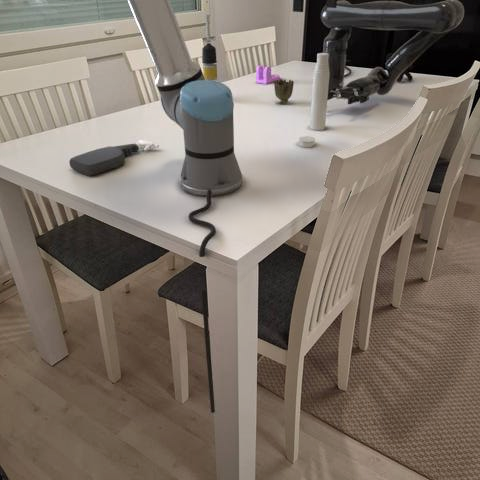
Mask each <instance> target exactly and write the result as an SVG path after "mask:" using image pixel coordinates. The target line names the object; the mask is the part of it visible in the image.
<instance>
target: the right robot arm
mask: <svg viewBox="0 0 480 480" xmlns="http://www.w3.org/2000/svg"><path fill="white" fill-rule="evenodd" d="M464 17H465V7H464V5H463V3H462V2H461V1H459V0H442V1H439V2H435V3H434V2H433V3H429V4H409V3H406V2H402V1H397V0H378V1H377V0H375V1H368V2H362V3H357V4H356V3H355V4H352V3H351V2H349V1H348V0H337V5H336V8H327V7H326V5H324V7H323V8H322V10H321V12H320V20H321V22H322V23H323V25H324V26H325V27H327V28H328V29H330V31H329V34H328V35H327V36H325V38H324V39H323V50H322V53H328V54H329V57H328V63H329V71H330V72H329V74H330V75H329V86H328V98H327V101H329V100H331V99H336V100H347V105H352V104H357V103H360V104H365V103H366V102H368V101H370V98H371V97H370V96H373V95H375V94H377V95H378V96H385V95H387V94H388V93H389V92H391V90H392V89H393V88H394V86H395V84H396V82H397V79H398V77H399V76H400V75H401V73H402V72H403V71H404V70H405V69H407V70H408V67H409V66H410V65H411V64H412V63H414V62H415V61H416V60H417V59H418V58H419V57H420V56H421V55H423V54H424V52H425V51H427V50H428V49H429V48H430V47H431V46H432V45H433V44H434V43H436V42H437V41H438V40H439V39H441V38H442V37H443V36H445V35H447V34H448V33H450V32H451V31H452V30H453V29H455V28H457V27H458V26H459V25H460V24H461V22H462V21H463V19H464ZM352 27H353V28H359V29H367V30H376V31H407V30H412V31H419V32H417V33H416V34H415V35H414V36H413V37H411V38H410V39H409V40H407V42H405V43H403V45H402V46H400V47H399V48H398V49H397V50H396V51H395V52H394V53H392V54H393V55H392V56H391V57H390V58H389V59H388V61H386V62H385V69H386V70H385V69H384V68H383V67H381V66H376V67H374V68H373V69H371V70H370V71H369V73H368V74H367V76H363V77H359V78H356V79H354V80H352V81H349V82H348V83H347V84H346V86H344V83H345V82H344V81H345V78H346V77H348V76H350V75H351V74H352V69H351V68H349V67H348V66H346V63H348V64H352V62H351V60H350V59H347V50H348V42H349V40H350V38H351V33H352ZM345 70H348V73H346V74H345Z"/></svg>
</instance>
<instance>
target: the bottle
mask: <svg viewBox="0 0 480 480" xmlns="http://www.w3.org/2000/svg"><path fill="white" fill-rule="evenodd" d="M328 57H329V54H328V53H323V52H318V53H317V54H316V63H315V66H314V70H313V78H312V91H311V94H312V95H311V105H310V121H309V128H310V130H313V131H324V130H325V129H326V120H327V108H328V100H327V98H328V86H329V75H330V74H329V72H330V71H329V63H328Z"/></svg>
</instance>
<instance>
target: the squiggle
mask: <svg viewBox="0 0 480 480" xmlns="http://www.w3.org/2000/svg"><path fill="white" fill-rule="evenodd" d="M393 54H394V53H392V52H390V53H387V55H386V57H385V61H386V62H387V61H388V59H389V58H390V57H391V56H392V55H393ZM413 63H414V62H413ZM413 63H412V64H411V65H410V66H409V67H408V68H407V69H405V70H404V71H403V72H402V73H401V75H400V76H399V77H398V79H397V80H396V82H399V83H400V82H402V81H403V79H404V76H406V78H407V80H408V81H412V80H413V79H414V77H413V75H412V74H411V73H410V72H409V71H410V70H412V69H413V68H414V64H413Z"/></svg>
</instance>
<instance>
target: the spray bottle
mask: <svg viewBox="0 0 480 480" xmlns="http://www.w3.org/2000/svg"><path fill="white" fill-rule="evenodd" d="M159 148H160V145H159V144H158V143H155V142H151V141H148V140H144V139H139V140H138V141H137V142H135V143H129V144H128V143H126V144H122V145H113V146H105V147H100V148H97V149H94V150H90V151H87V152H83V153H81V154H78V155H74V156H73V157H70V159H69V161H68V162H69V167H70V168H71V169H72V170H74V171H75V172H78V173H81V174H83V175H85V176H89V177H90V176H91V177H92V176H95V175H99V174H102V173H105V172H107V171H110V170H113V169H116V168H118V167H120V166H122V165H123V164H124V163H125V158H126V156H127V155H131V154H133V153H138V151H140V150H143V151H144V152H146V151H147V150H149V149H159Z"/></svg>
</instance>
